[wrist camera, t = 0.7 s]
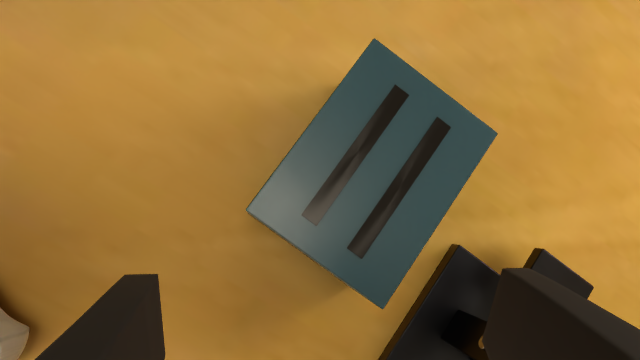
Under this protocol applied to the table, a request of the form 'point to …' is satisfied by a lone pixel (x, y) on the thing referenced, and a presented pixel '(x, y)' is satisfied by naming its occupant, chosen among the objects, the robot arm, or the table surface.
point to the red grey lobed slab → (12, 337)
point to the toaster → (373, 174)
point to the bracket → (448, 312)
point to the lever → (557, 272)
